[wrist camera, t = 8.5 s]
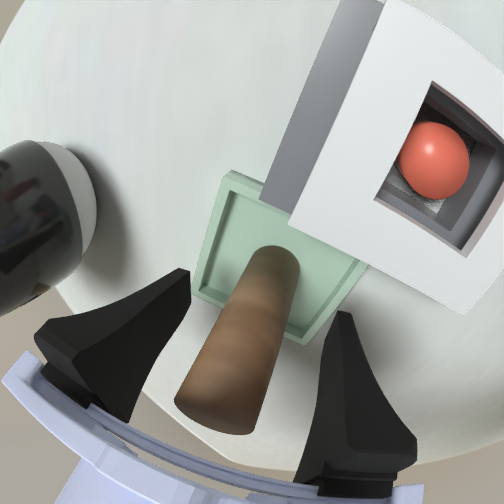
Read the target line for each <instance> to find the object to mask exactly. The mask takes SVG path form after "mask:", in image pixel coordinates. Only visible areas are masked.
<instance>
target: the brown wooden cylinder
mask: <svg viewBox="0 0 504 504" xmlns="http://www.w3.org/2000/svg"><path fill="white" fill-rule="evenodd" d="M299 274H300V265H299V262H298V260H297V258H296V257H295V256H294V255H293V254H292V253H291V252H290V251H289V250H287V249H285V248H283V247H280V246H275V245H268V246H264V247H261V248H259V249H258V250H256V251H255V252H254V253H253V255H252V257H251V259H250V260H249V262H248V264H247V266H246V268H245V270H244V271H243V273H242V275H241V277H240V279H239V281H238V282H237V284H236V286H235V288H234V290H233V292H232V294H231V295H230V297H229V299H228V301H227V303H226V305H225V306H224V308H223V310H222V312H221V314H220V316H219V317H218V319H217V321H216V323H215V325H214V327H213V328H212V330H211V332H210V334H209V336H208V338H207V339H206V341H205V343H204V345H203V347H202V349H201V350H200V352H199V354H198V356H197V358H196V360H195V361H194V363H193V365H192V367H191V369H190V370H189V372H188V374H187V376H186V378H185V380H184V381H183V383H182V385H181V387H180V389H179V391H178V392H177V394H176V396H175V398H174V403H175V405H176V406H177V408H178V409H179V410H180V411H181V412H182V413H183V414H184V415H186V416H187V417H189V418H190V419H192V420H193V421H195V422H197V423H199V424H201V425H203V426H205V427H207V428H210V429H212V430H215V431H218V432H222V433H227V434H232V435H247V434H250V433H252V432H253V431H254V428H255V425H256V422H257V419H258V416H259V413H260V410H261V407H262V404H263V401H264V398H265V395H266V392H267V389H268V385H269V382H270V379H271V376H272V372H273V369H274V366H275V362H276V359H277V356H278V352H279V349H280V345H281V342H282V338H283V335H284V331H285V328H286V324H287V320H288V317H289V313H290V309H291V305H292V302H293V298H294V294H295V290H296V286H297V282H298V278H299Z"/></svg>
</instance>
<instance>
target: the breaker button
mask: <svg viewBox="0 0 504 504" xmlns="http://www.w3.org/2000/svg"><path fill="white" fill-rule="evenodd" d="M395 162H396V165H397V167H398V169H399V171H400V173H401V174H402V176H403V177H404V178H405V179H406V180H407V182H408V183H409V184H410V185H411V186H412V188H413V189H414V190H415V191H416V192H418V193H419V194H420V195H422V196H424V197H427V198H430V199H444V198H447V197H449V196H451V195H453V194H455V193H456V192H457V191H458V190H459V189H460V188H461V187H462V185H463V184H464V182H465V180H466V177H467V174H468V170H469V156H468V151H467V148H466V146H465V144H464V142H463V140H462V139H461V137H460V136H459V135H458V134H457V133H456V132H455V131H454V130H453V129H451V128H450V127H448V126H446V125H443V124H439V123H435V122H431V121H427V120H419V121H414V122H413V125H412V127H411V129H410V131H409V133H408V135H407V137H406V139H405V141H404V143H403V145H402V147H401V149H400V151H399V153H398V155H397V157H396V159H395Z"/></svg>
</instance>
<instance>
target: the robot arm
mask: <svg viewBox="0 0 504 504" xmlns="http://www.w3.org/2000/svg"><path fill="white" fill-rule="evenodd" d="M190 305H191V284H190V271H188V270H184V269H181V268H178V269H176V270H174V271H172V272H171V273H169V274H167V275H165V276H164V277H162V278H160V279H159V280H157V281H155V282H154V283H152V284H150V285H148V286H147V287H145V288H143V289H141V290H139V291H137V292H135V293H133V294H131V295H129V296H128V297H125V298H123V299H121V300H119V301H116V302H114V303H112V304H109V305H107V306H104V307H101V308H98V309H95V310H91V311H88V312H84V313H81V314H76V315H72V316H67V317H60V318H53V319H49V320H48V321H46V323H45V324H44V325H43V326H42V327H41V328H40V329H39V330H38V331H37V332H36V333H35V334H34V340H35V343H36V344H37V346H38V348H39V349H40V351H41V352H42V354H43V355H44V357H45V358H46V359H47V361H48V362H47V363H46V365H44V364H43V363H42V362H41V361H40V360H39V359H38V358H37V357H36V356H35V355H33V354H32V353H31V352H30V351H29V350H26V351H25V352H24V353H23V354H22V355H21V357H20V358H19V359H18V360H17V361H16V362H15V364H14V365H13V366H12V367H11V369H10V370H9V371H8V372H7V373H6V375H5V376H4V377H3V379H2V383H3V384H4V385H5V386H6V387H7V388H8V389H9V391H10V392H11V393H12V394H13V395H14V396H15V397H16V398H17V399H18V400H19V402H20V403H21V404H22V405H23V406H24V407H25V408H26V409H27V410H28V411H29V412H30V413H31V414H32V415H33V416H34V417H35V418H36V419H37V420H38V421H39V422H40V423H41V424H42V425H44V426H45V427H46V428H47V429H48V430H49V431H50V432H51V433H52V434H53V435H55V436H56V437H57V438H58V439H60V441H62V442H63V443H64V444H65V445H67V446H68V447H69V448H71V449H72V450H73V451H74V452H75V453H77V454H78V455H79V456H81V457H82V458H81V459H80V461H79V463H78V465H77V466H76V468H75V469H74V471H73V473H72V474H71V476H70V478H69V479H68V481H67V483H66V484H65V486H64V488H63V489H62V491H61V493H60V495H59V496H58V498H57V500H56V501H55V503H54V504H423V495H424V484H412V485H400V486H396V487H393V481H395V480H396V479H397V473H398V472H399V471H401V470H403V469H405V468H407V467H409V466H411V465H413V464H414V463H415V462H416V461H417V438H416V437H415V436H414V435H413V434H412V433H411V431H410V430H409V429H408V428H407V427H406V426H405V425H404V423H403V422H402V421H401V419H400V418H399V417H398V415H397V414H396V413H395V411H394V410H393V408H392V407H391V405H390V403H389V402H388V400H387V399H386V397H385V396H384V394H383V392H382V390H381V388H380V387H379V385H378V383H377V381H376V379H375V377H374V375H373V373H372V370H371V368H370V366H369V363H368V361H367V359H366V356H365V353H364V351H363V348H362V345H361V343H360V340H359V337H358V334H357V331H356V328H355V324H354V321H353V318H352V315H351V313H347V312H343V311H339V310H338V311H337V313H336V316H335V318H334V320H333V323H332V325H331V327H330V329H329V332H328V334H327V336H326V338H325V342H324V346H323V351H322V357H321V364H320V375H319V385H318V395H317V402H316V408H315V413H314V417H313V421H312V425H311V428H310V432H309V436H308V439H307V443H306V446H305V449H304V452H303V455H302V458H301V461H300V464H299V467H298V470H297V472H296V475H295V478H294V480H293V482H287V481H282V480H276V479H272V478H267V477H263V476H259V475H255V474H251V473H247V472H243V471H240V470H236V469H233V468H229V467H226V466H223V465H220V464H217V463H214V462H211V461H208V460H205V459H203V458H200V457H197V456H194V455H192V454H189V453H187V452H184V451H182V450H180V449H177V448H175V447H173V446H170V445H168V444H166V443H163V442H161V441H159V440H157V439H155V438H153V437H151V436H149V435H147V434H145V433H143V432H141V431H139V430H137V429H135V428H133V427H131V426H129V425H127V423H129V420H130V418H131V415H132V412H133V409H134V407H135V404H136V401H137V399H138V396H139V394H140V392H141V390H142V387H143V385H144V383H145V381H146V379H147V377H148V375H149V373H150V371H151V369H152V367H153V365H154V363H155V361H156V359H157V357H158V356H159V354H160V352H161V351H162V349H163V348H164V347H165V345H166V344H167V342H168V341H169V339H170V338H171V336H172V335H173V333H174V332H175V331H176V329H177V328H178V326H179V325H180V323H181V322H182V320H183V318H184V317H185V315H186V313H187V311H188V309H189V307H190ZM107 430H108V431H110V432H111V433H113V434H115V435H116V436H118V437H120V438H121V439H123V440H125V441H127V442H128V443H130V444H132V445H134V446H136V447H138V448H140V449H142V450H144V451H146V452H148V453H150V454H152V455H154V456H156V457H158V458H160V459H162V460H164V461H167V462H169V463H172V464H173V465H176V466H178V467H181V468H183V469H186V470H188V471H191V472H193V473H196V474H199V475H202V476H204V477H207V478H210V479H213V480H216V481H219V482H223V483H226V484H229V485H232V486H236V487H239V488H243V489H247V490H251V491H255V492H259V493H263V494H257V493H250V494H249V496H248V497H246V499H242V498H239V497H236V496H232V495H230V494H226V493H223V492H220V491H218V490H215V489H212V488H209V487H206V486H204V485H201V484H198V483H196V482H193V481H191V480H188V479H186V478H183V477H181V476H178V475H176V474H174V473H171V472H169V471H167V470H165V469H163V468H160V467H158V466H156V465H154V464H152V463H150V462H148V461H146V460H144V459H142V458H140V457H138V455H137V454H136V453H135V452H133V451H132V450H131V449H130V448H128V447H127V446H126V444H125V443H124V442H122V441H121V440H120V439H118V438H117V437H115V436H114V435H112V434H111V433H109V432H108V431H107ZM264 494H268V495H264ZM272 495H273V496H272Z"/></svg>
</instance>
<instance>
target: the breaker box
mask: <svg viewBox="0 0 504 504" xmlns="http://www.w3.org/2000/svg"><path fill="white" fill-rule="evenodd" d="M423 101H424V102H425V103H427V104H428V105H430V106H431V107H433V108H434V109H435V110H437V111H438V112H440V113H441V114H442V115H444V116H445V117H447V118H448V119H449V120H451V121H452V122H453V123H455V124H456V125H457V126H458V127H460V128H461V129H462V130H463V131H465V132H466V133H467V134H468V135H469V136H471V137H472V138H473V139H474V140H475V141H476V144H475V146H474V148H473V150H472V152H471V154H470V156H469V170H468V174H467V177H466V180H465V182H464V184H463V185H462V187H461V188H460V189H459V190H458V191H457V192H456V193H455V194H453V195H451V196H449V197H447V198H446V200H445V202H444V204H443V205H442V207H441V208H440V210H439V212H438V213H437V214H436V213H435V212H433V211H432V210H430V209H429V208H427V207H426V206H424V205H423V204H421V203H420V202H418V201H417V200H415V199H414V198H412V197H410V196H409V195H407V194H406V193H404V192H402V191H401V190H399V189H397V188H396V187H394V186H392V185H391V184H389V183H387V182H386V181H384V180H385V178H386V176H387V174H388V172H389V170H390V168H391V167H392V165H393V163H394V161H395V159H396V157H397V155H398V153H399V151H400V149H401V147H402V145H403V143H404V141H405V139H406V137H407V135H408V133H409V131H410V129H411V127H412V125H413V122H414V120H415V118H416V116H417V114H418V112H419V109H420V107H421V105H422V103H423ZM258 200H261V201H263V202H265V203H267V204H269V205H272V206H274V207H276V208H278V209H280V210H283V211H285V212H287V213H289V214H291V216H290V219H289V221H288V224H287V225H289V226H291V227H294V228H296V229H298V230H300V231H302V232H304V233H306V234H308V235H310V236H312V237H315V238H317V239H319V240H321V241H323V242H325V243H327V244H329V245H331V246H333V247H335V248H337V249H339V250H341V251H343V252H345V253H347V254H349V255H351V256H353V257H355V258H357V259H359V260H361V261H363V262H365V263H367V264H369V265H371V266H373V267H375V268H377V269H379V270H380V271H382V272H384V273H386V274H388V275H390V276H392V277H394V278H396V279H398V280H400V281H401V282H403V283H405V284H407V285H409V286H411V287H413V288H414V289H416V290H418V291H420V292H422V293H424V294H425V295H427V296H429V297H431V298H433V299H434V300H436V301H438V302H440V303H442V304H443V305H445V306H447V307H449V308H450V309H452V310H454V311H456V312H457V313H459V314H461V315H463V316H464V315H465V314H466V313H467V312H468V311H469V310H470V309H471V308H472V307H473V306H474V304H475V303H476V302H477V301H478V300H479V299H480V298H481V296H482V295H483V294H484V293H485V292H486V290H487V289H488V288H489V287H490V285H491V284H492V283H493V282H494V280H495V279H496V278H497V277H498V275H499V274H500V273H501V271H502V270H503V269H504V74H503V73H502V72H501V71H500V70H499V69H498V68H497V67H495V66H494V65H493V64H492V63H491V62H490V61H489V60H488V59H487V58H485V57H484V56H483V55H482V54H481V53H479V52H478V51H477V50H476V49H475V48H473V47H472V46H471V45H470V44H468V43H467V42H466V41H464V40H463V39H462V38H460V37H459V36H458V35H456V34H455V33H453V32H452V31H451V30H449V29H448V28H446V27H445V26H443V25H442V24H440V23H439V22H437V21H435V20H434V19H432V18H431V17H429V16H427V15H426V14H424V13H422V12H421V11H419V10H417V9H415V8H414V7H412V6H410V5H408V4H406V3H404V2H402V1H400V0H386V1H385V3H384V4H383V3H381V2H379V1H377V0H341V1H340V3H339V5H338V8H337V10H336V12H335V14H334V17H333V19H332V21H331V24H330V26H329V28H328V31H327V33H326V35H325V38H324V40H323V42H322V45H321V47H320V49H319V52H318V54H317V57H316V59H315V61H314V64H313V66H312V68H311V71H310V73H309V76H308V78H307V80H306V83H305V85H304V88H303V90H302V92H301V95H300V97H299V100H298V102H297V105H296V107H295V109H294V112H293V114H292V117H291V119H290V122H289V124H288V127H287V129H286V131H285V134H284V136H283V139H282V141H281V144H280V146H279V149H278V151H277V154H276V156H275V159H274V161H273V164H272V166H271V169H270V171H269V174H268V176H267V179H266V181H265V184H264V186H263V189H262V191H261V194H260V196H259V199H258Z"/></svg>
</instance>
